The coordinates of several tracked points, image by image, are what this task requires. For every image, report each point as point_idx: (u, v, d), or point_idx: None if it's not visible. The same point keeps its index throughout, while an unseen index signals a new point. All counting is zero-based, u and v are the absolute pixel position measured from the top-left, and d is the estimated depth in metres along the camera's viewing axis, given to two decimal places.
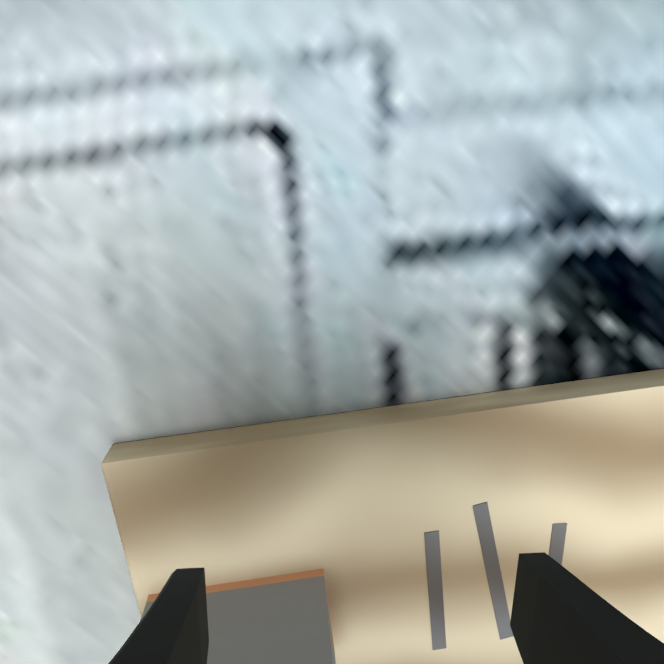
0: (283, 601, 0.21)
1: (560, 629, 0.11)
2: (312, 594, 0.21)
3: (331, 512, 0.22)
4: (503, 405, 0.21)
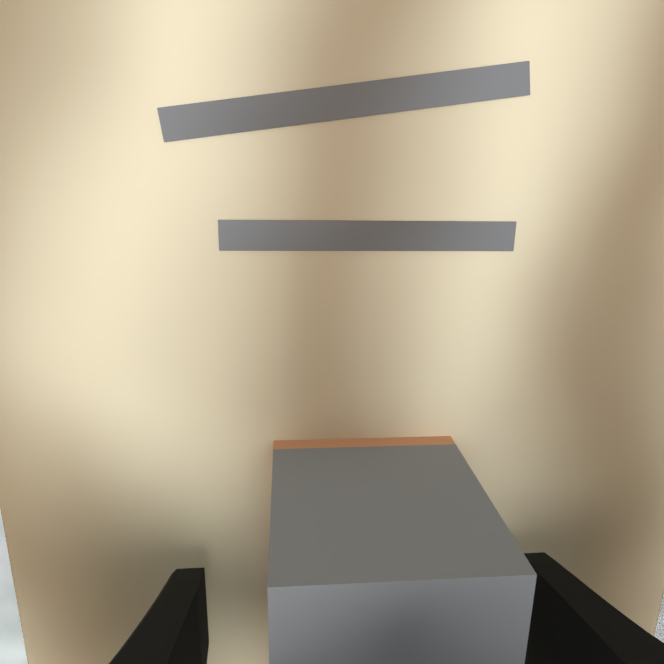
0: None
1: (560, 629, 0.11)
2: None
3: (153, 417, 0.12)
4: None
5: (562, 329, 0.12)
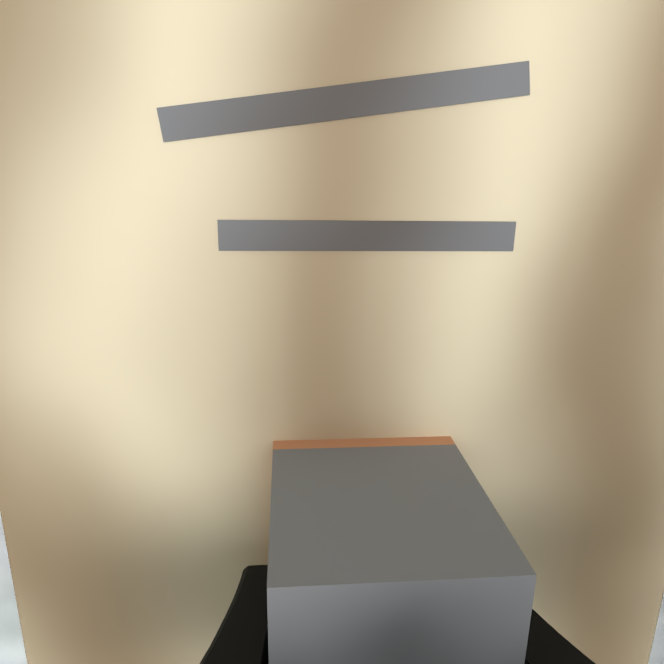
0: None
1: None
2: None
3: (153, 417, 0.12)
4: None
5: (562, 329, 0.12)
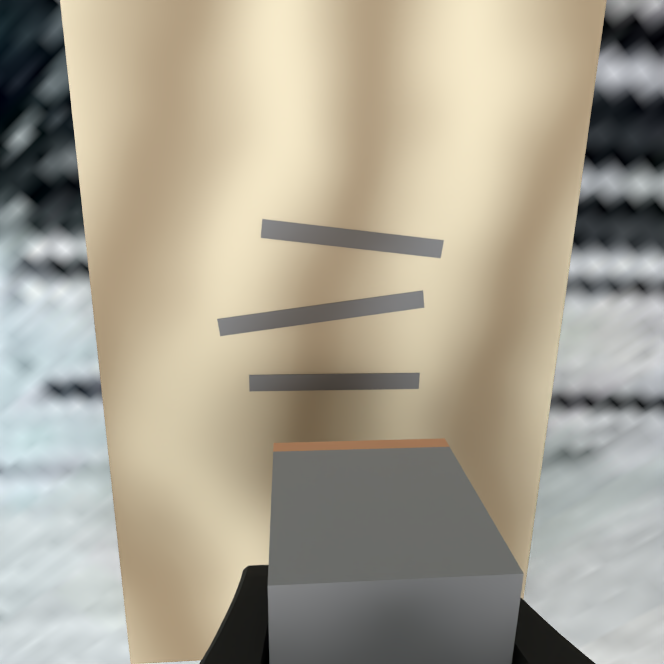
0: None
1: None
2: None
3: (209, 482, 0.20)
4: (93, 292, 0.18)
5: (450, 431, 0.20)
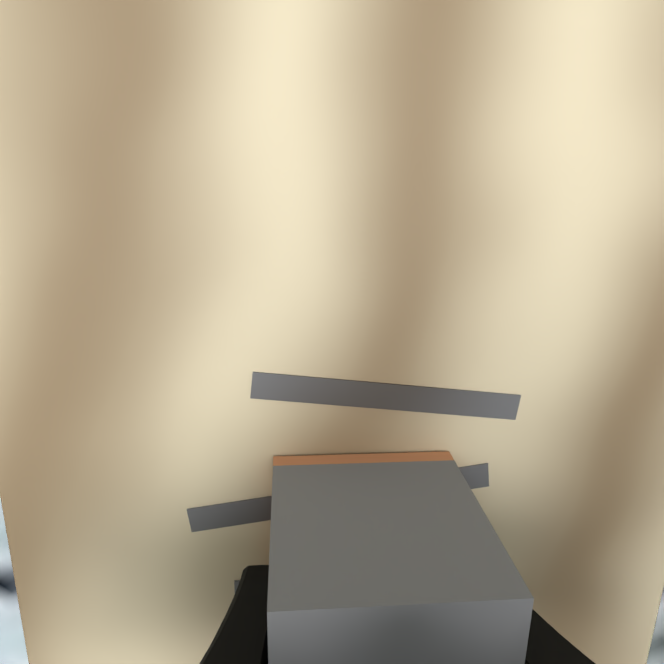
0: None
1: None
2: None
3: None
4: (2, 474, 0.12)
5: None
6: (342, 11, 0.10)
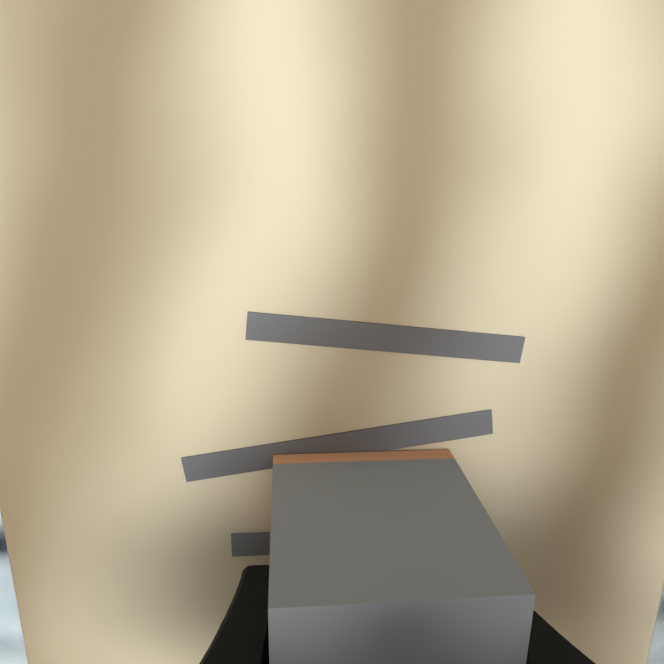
0: None
1: None
2: None
3: None
4: None
5: None
6: None
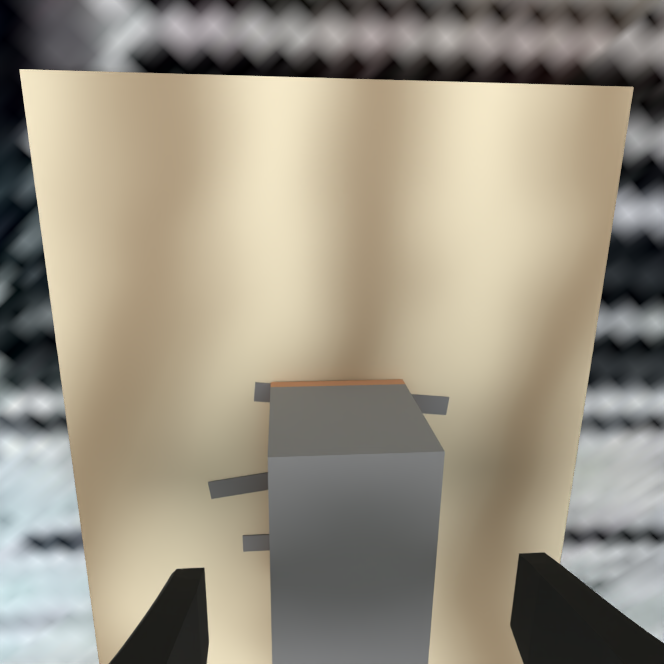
0: None
1: (560, 630, 0.11)
2: None
3: None
4: (75, 458, 0.17)
5: (456, 581, 0.19)
6: (315, 138, 0.15)
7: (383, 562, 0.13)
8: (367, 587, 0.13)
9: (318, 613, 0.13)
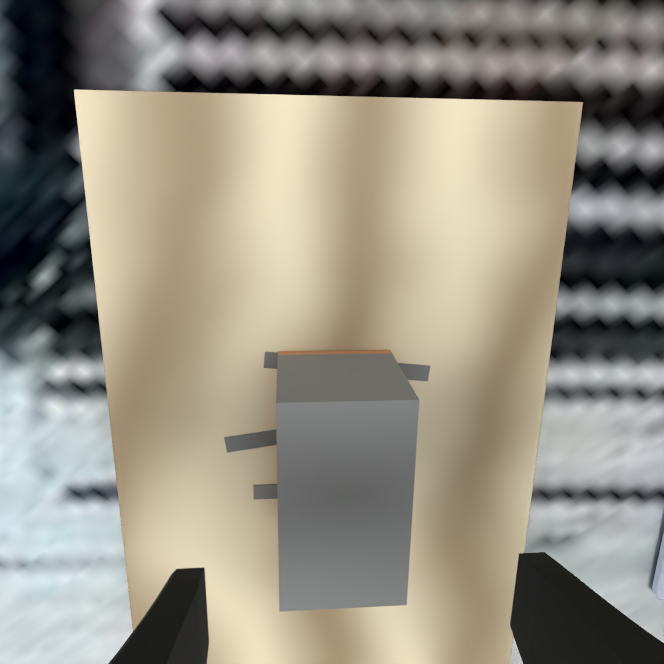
0: None
1: (560, 629, 0.11)
2: None
3: (217, 578, 0.22)
4: (111, 416, 0.20)
5: (438, 529, 0.22)
6: (315, 145, 0.18)
7: (370, 493, 0.16)
8: (357, 513, 0.16)
9: (317, 535, 0.16)
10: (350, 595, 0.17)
